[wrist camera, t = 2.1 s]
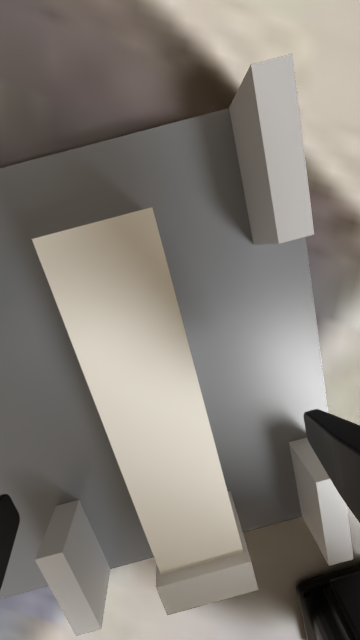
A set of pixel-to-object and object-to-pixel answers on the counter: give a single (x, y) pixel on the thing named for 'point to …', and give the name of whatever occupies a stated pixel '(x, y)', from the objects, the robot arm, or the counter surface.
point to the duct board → (200, 327)
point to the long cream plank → (150, 402)
